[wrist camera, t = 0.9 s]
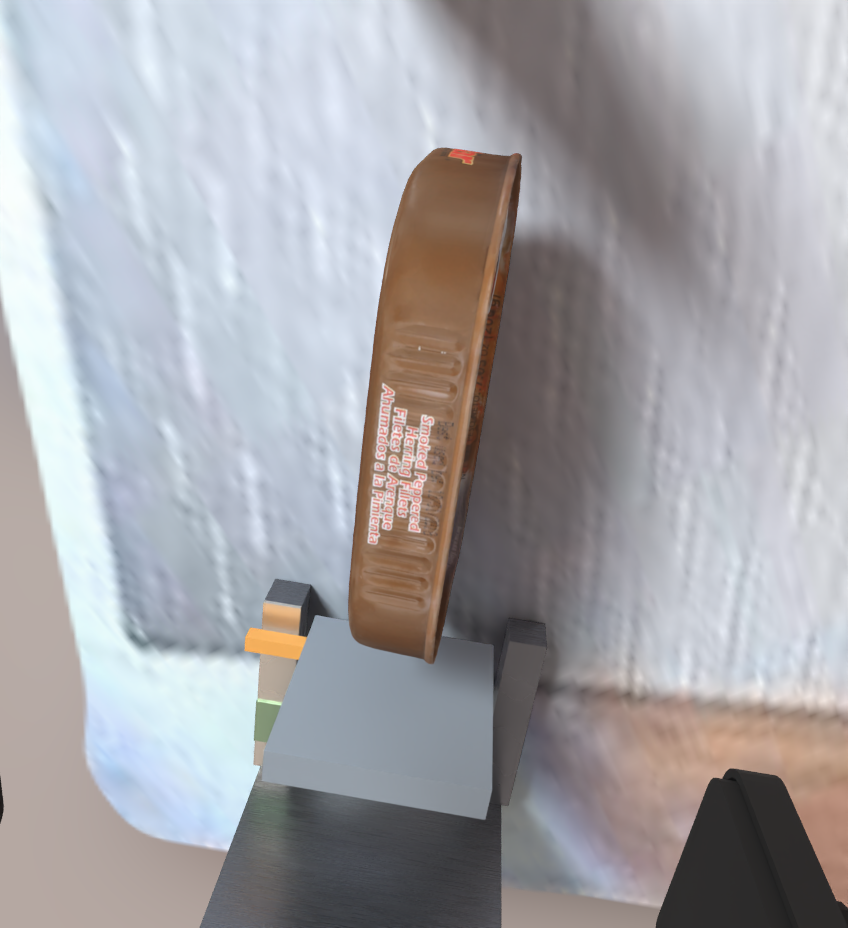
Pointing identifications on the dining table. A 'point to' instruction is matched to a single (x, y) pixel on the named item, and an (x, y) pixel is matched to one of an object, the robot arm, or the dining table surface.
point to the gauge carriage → (383, 720)
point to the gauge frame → (370, 821)
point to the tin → (429, 394)
